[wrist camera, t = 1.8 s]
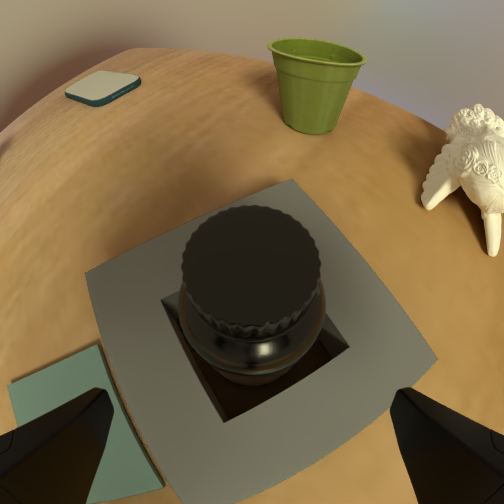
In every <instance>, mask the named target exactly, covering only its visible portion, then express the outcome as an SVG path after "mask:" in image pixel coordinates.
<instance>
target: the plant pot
mask: <svg viewBox="0 0 504 504" xmlns="http://www.w3.org/2000/svg"><path fill="white" fill-rule="evenodd" d="M267 47H268V49H270V50H271V51H272V55H273V60H274V65H275V67H276V71H277V76H278V83H279V90H280V97H281V105H282V113H283V119H284V122H285V123H286V124H287V125H290V126H291V127H292V128H293V129H294V130H296V131H299V132H302V133H307V134H324V133H326V132H328V131H332V130H333V129H334V127H335V125H336V123H337V120H338V118H339V115H340V113H341V110H342V108H343V105H344V103H345V100H346V98H347V95H348V93H349V90H350V87H351V85H352V82H353V80H354V79H355V78H356V76H357V74H358V71H359V69H360V67H361V65H364V64H365V63H366V62H367V59H366V57H365V56H364V55H363V54H361V53H359V52H358V51H356V50H354V49H351V48H349V47H346V46H343V45H340V44H337V43H333V42H328V41H323V40H317V39H307V38H283V39H277V40H273V41H271V42H269V43H268V44H267Z"/></svg>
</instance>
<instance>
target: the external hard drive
mask: <svg viewBox="0 0 504 504" xmlns="http://www.w3.org/2000/svg"><path fill="white" fill-rule="evenodd" d="M140 84H141V80H140V77H139V76H137V75H133V74H126V73H119V72H111V71H98V72H95V73H92V74H90V75H88V76H87V77H85V78H83V79H81V80H79V81H78V82H76V83H74V84H73V85H71V86H70V87H68V88H67V89H66V90H65V95H66V97H68V98H70V99H73V100H76V101H79V102H81V103H84V104H87V105H89V106H92V107H99V106H103V105H106V104H108V103H110V102H112V101H114V100H115V99H117V98H119V97H121V96H122V95H124V94H126V93H128V92H130V91H132V90H133V89H135V88H137V87H138V86H139V85H140Z"/></svg>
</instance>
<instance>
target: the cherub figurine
mask: <svg viewBox="0 0 504 504" xmlns="http://www.w3.org/2000/svg"><path fill="white" fill-rule="evenodd" d="M445 134H446V136H447V137H446V140H447V142H448V143H449V144H446V145H444V146H443V147H442V151H441V154H439V155H437V156H436V157H435V160H434V163H435V164H433V165H432V166H431V167H430V169H429V174H427V175H426V181H424V182H423V185H422V187H423V190H424V192H423V193H422V195H421V201H422V204H423V206H424V207H425V209H427V210H431V209H433V208H434V207H435V206H436V205H437V204H438V203H439V202H441V201H442V200H443V199H444V198H445V197H446V196H447V195H448V194H449V193H452V192H453V191H455V190H456V189H457V188H458V187H460V186H462V188H463V190H464V192H465V193H466V195H467V196H468V197H469V199H470V200H471V201H472V202H473V203H475V204H476V205H477V206H478V207H479V208H480V209H481V217H482V219H483V220H484V228H485V236H486V244H487V251H488V255H489V256H492V257H493V256H496V255H497V253H498V250H499V245H500V238H501V213H504V121H503V120H502V119H501V118H500V117H499V116H495V115H494V113H493V112H492V111H491V110H490V109H488V108H485V109H484V108H483V106H482V105H481V104H475V105H474V106H473V107H471V108H463V109H461V110H460V111H458V112H457V113H455V114H454V116H453V119H452V125H450V126H448V127H446V128H445Z"/></svg>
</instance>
